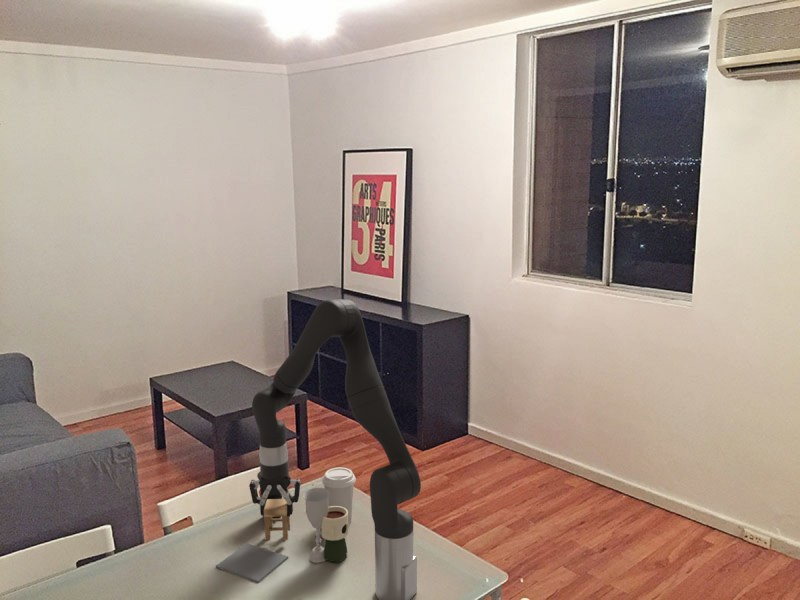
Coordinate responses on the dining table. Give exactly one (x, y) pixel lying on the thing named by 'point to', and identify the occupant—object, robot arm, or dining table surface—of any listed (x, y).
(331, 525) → the character mug
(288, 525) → the light wood stool
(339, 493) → the coffee cup
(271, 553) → the mat
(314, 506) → the chalice
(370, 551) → the dining table surface
